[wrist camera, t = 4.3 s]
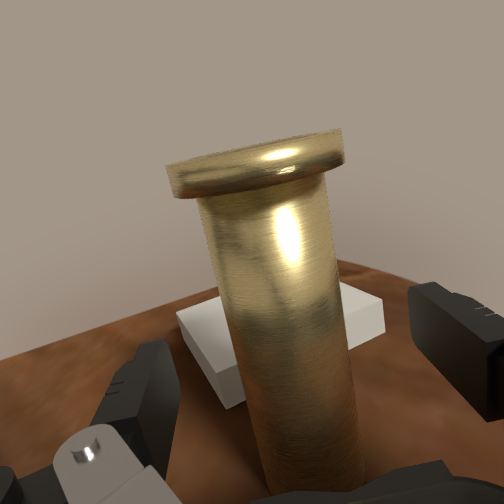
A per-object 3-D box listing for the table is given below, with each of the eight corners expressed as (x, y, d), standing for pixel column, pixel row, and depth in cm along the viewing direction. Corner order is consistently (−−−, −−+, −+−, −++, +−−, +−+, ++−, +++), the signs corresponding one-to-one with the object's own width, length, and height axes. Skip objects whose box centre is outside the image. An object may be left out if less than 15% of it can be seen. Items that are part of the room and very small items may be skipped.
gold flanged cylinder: (292, 569, 13) (193, 163, 8) (231, 454, 18) (151, 167, 14) (414, 482, 15) (382, 120, 10) (327, 402, 20) (284, 137, 16)
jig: (226, 409, 21) (216, 373, 20) (183, 339, 30) (175, 312, 29) (385, 332, 25) (381, 299, 24) (306, 290, 34) (302, 266, 33)
